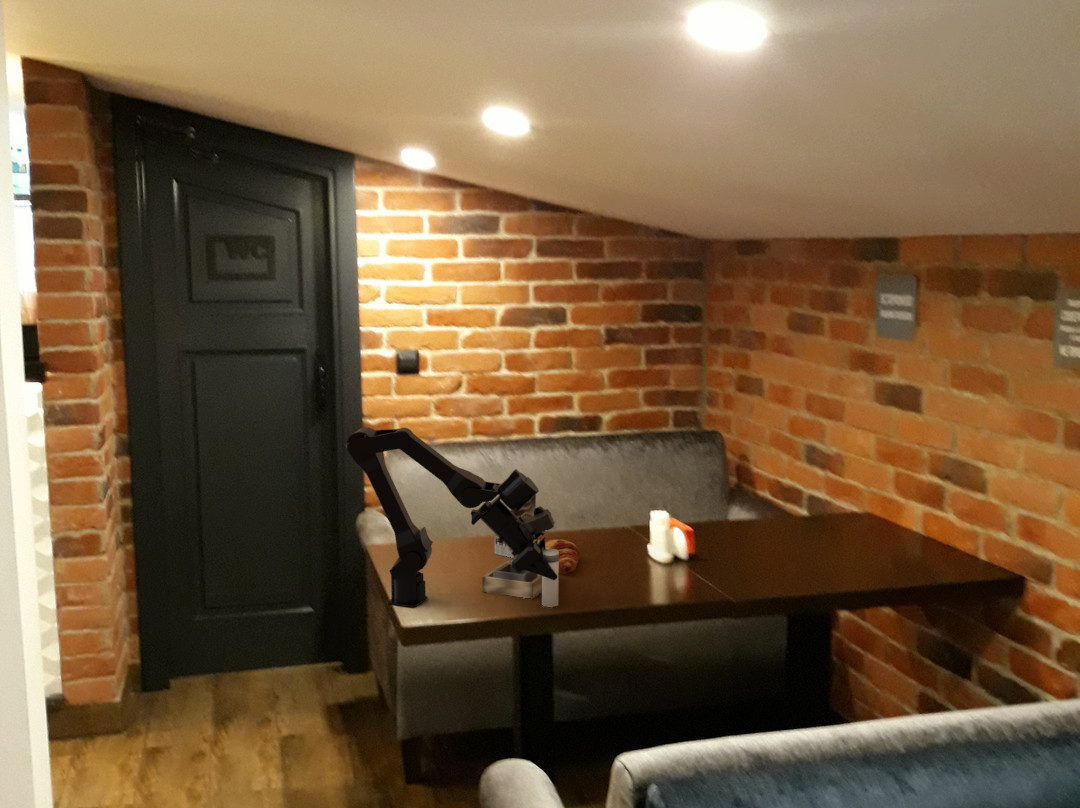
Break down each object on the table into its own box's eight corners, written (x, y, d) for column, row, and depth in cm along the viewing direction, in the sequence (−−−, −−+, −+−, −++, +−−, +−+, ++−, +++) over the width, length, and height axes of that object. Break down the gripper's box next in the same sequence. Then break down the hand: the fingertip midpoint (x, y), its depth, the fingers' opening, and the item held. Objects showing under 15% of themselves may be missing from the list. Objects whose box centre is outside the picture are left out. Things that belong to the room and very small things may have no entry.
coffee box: (514, 558, 261) (514, 494, 259) (493, 554, 265) (493, 490, 263) (536, 550, 268) (536, 487, 266) (516, 546, 272) (516, 484, 270)
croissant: (536, 566, 267) (521, 540, 265) (570, 546, 268) (556, 519, 266) (558, 591, 246) (542, 563, 244) (595, 569, 248) (579, 540, 246)
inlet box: (482, 592, 236) (482, 571, 235) (508, 574, 249) (508, 554, 248) (532, 599, 232) (532, 578, 231) (556, 580, 244) (556, 560, 244)
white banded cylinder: (541, 608, 226) (541, 553, 224) (542, 602, 230) (542, 548, 228) (558, 608, 226) (558, 553, 224) (559, 602, 229) (559, 548, 228)
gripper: (528, 509, 215) (582, 563, 216) (535, 488, 234) (585, 538, 235) (489, 546, 217) (543, 600, 218) (499, 522, 235) (549, 572, 236)
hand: (556, 575), depth 227 cm, fingers closed on white banded cylinder, 3 cm apart
